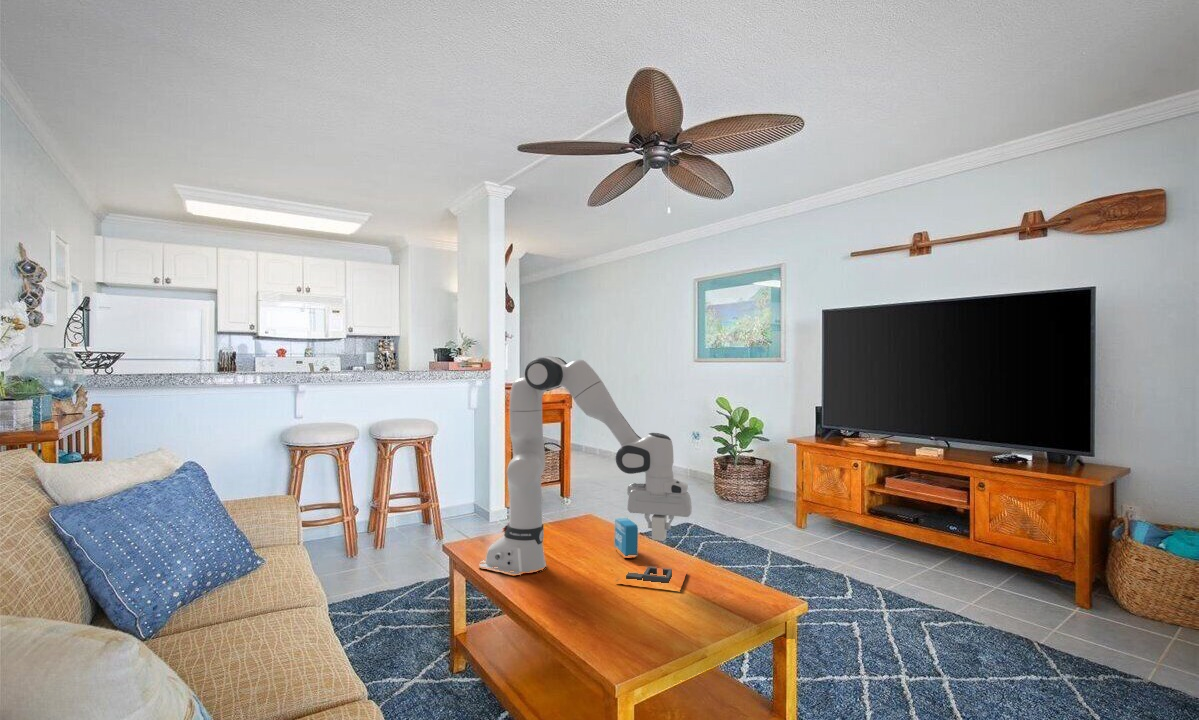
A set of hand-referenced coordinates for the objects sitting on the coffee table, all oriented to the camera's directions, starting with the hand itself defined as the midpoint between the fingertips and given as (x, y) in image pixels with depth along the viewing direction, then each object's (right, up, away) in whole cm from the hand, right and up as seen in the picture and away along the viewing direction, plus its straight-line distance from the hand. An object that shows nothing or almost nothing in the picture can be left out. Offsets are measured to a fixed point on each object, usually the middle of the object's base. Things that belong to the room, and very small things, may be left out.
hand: (659, 528), depth 183 cm
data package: (-9, -17, +26) cm, 33 cm away
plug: (0, -3, 0) cm, 3 cm away
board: (-2, -17, +2) cm, 17 cm away
